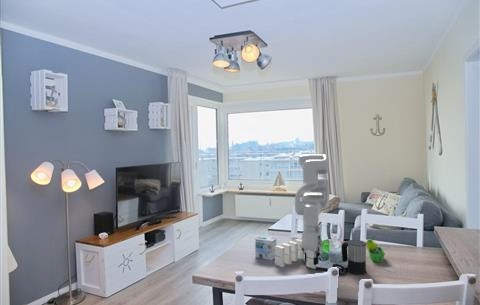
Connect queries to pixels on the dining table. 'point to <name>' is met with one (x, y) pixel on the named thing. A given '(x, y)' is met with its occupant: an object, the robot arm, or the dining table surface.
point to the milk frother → (353, 257)
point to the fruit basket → (375, 251)
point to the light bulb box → (265, 247)
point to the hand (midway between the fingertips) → (311, 262)
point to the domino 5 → (310, 259)
